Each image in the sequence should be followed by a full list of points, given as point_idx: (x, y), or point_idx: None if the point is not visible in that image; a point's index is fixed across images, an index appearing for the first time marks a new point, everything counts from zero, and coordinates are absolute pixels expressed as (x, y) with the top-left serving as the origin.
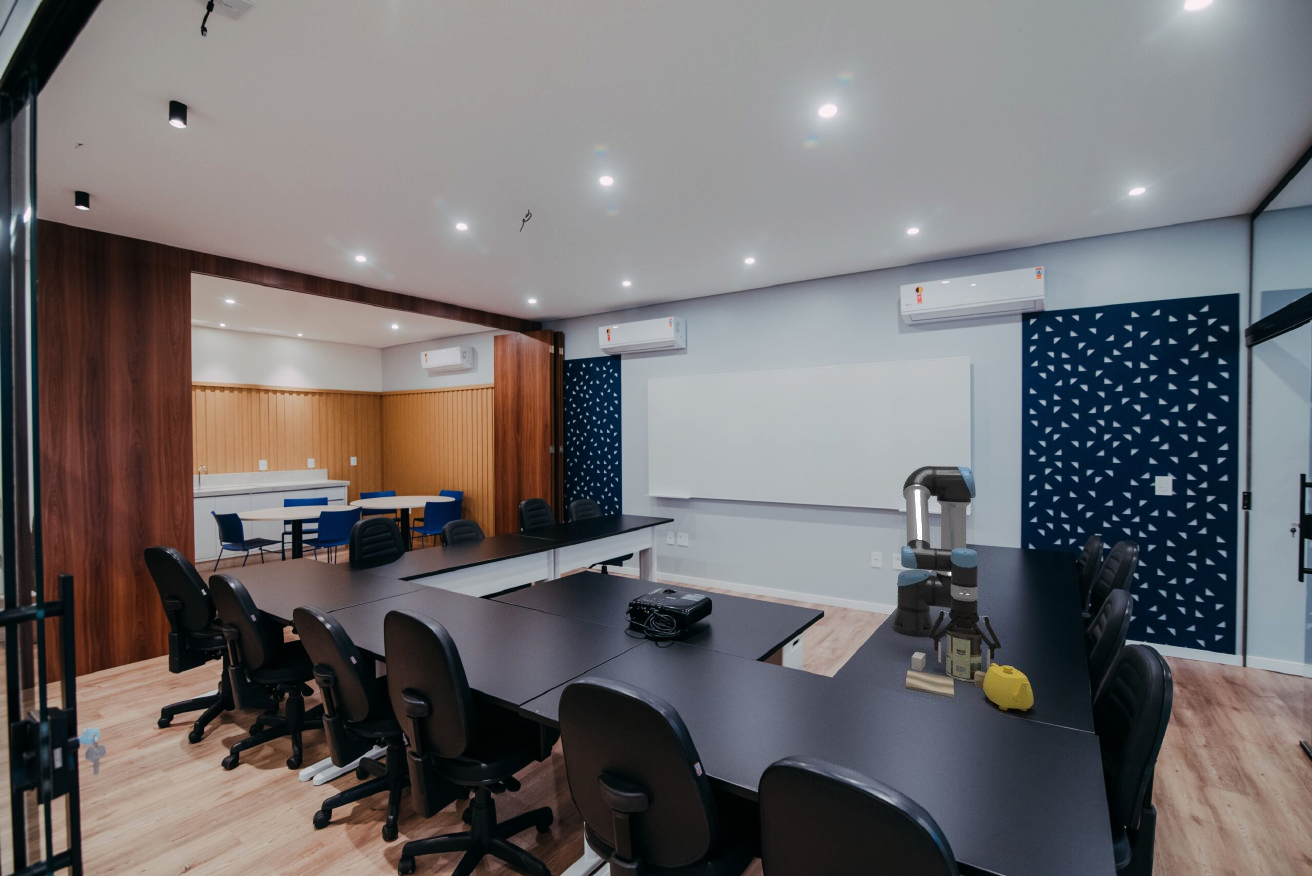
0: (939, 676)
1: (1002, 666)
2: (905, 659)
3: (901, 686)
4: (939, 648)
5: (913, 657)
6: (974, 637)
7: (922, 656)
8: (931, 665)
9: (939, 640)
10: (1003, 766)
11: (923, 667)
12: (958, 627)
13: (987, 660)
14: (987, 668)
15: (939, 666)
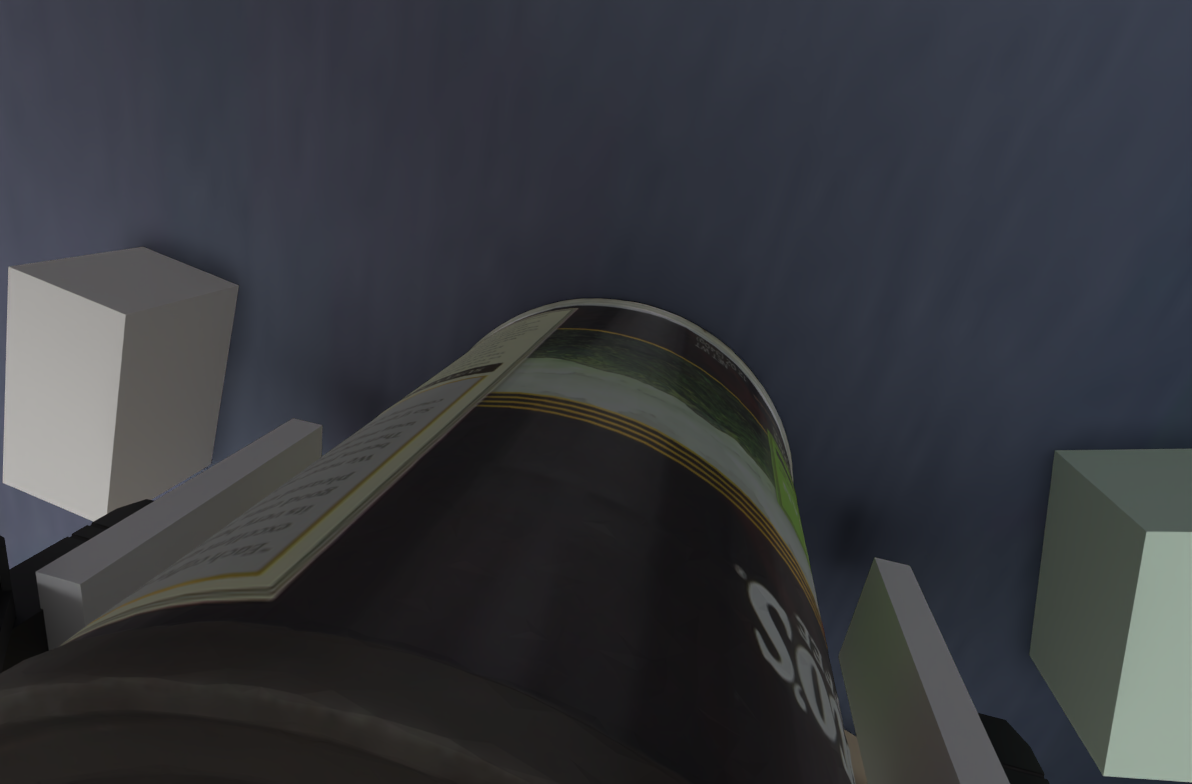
0: None
1: (1139, 546)
2: (35, 158)
3: None
4: None
5: (23, 491)
6: None
7: (104, 433)
8: (299, 269)
9: (59, 637)
10: None
11: (219, 380)
12: (182, 774)
13: (867, 764)
14: (846, 671)
15: (381, 274)
